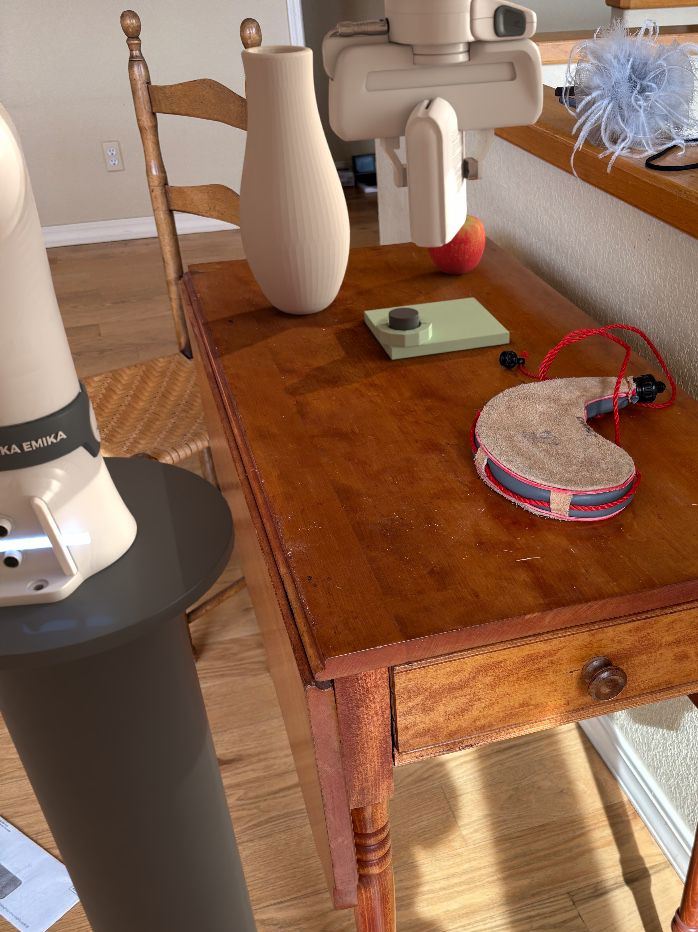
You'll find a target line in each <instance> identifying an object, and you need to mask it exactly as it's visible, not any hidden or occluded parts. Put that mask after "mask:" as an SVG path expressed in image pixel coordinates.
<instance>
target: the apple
mask: <svg viewBox="0 0 698 932" xmlns="http://www.w3.org/2000/svg"><path fill="white" fill-rule="evenodd" d="M485 232H486V231H485V226H484V224H483V222H482V221H481V220H480V219H479V218H477V217H476V216H474V215H469V214H466V220H465V222H464V224H463V226H462V227H461V228H460V229H459V231H458V232H457V233H456V235H455V236H454V237H453V238H452V240H451V241H450V242H448V243H447V244H443V245H442V246H440V247H427V251H428V254H429V256H430V259H431V260H432V262H433V264H434V265H435V267H436V268H437V269H438V270H439V271H441V272H443V273H444V274H447V275H454V276H455V275H457V276H459V275H464V274H466V273H469V272H471V271H472V270H474V269H475V268H476V267H477V265H478V264H479V263H480V261H481V259H482V257H483V253H484V251H485V247H486V233H485Z"/></svg>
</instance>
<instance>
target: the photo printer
mask: <svg viewBox="0 0 698 932" xmlns="http://www.w3.org/2000/svg"><path fill="white" fill-rule="evenodd" d="M465 132H466V131H458V125H457V117H456V114H455V111H454V110H453V108H452V107H451V105H450V104H449V103H448V102H447V101H445V100H444V99H441V98H438V97H437V98H434V99H433V101H432V102H431V104H430V103H429V101H428V100H423V101H422V102H420V103H419V104H418V105H417V106H416V107H415V108H414V109H413V111H412V113H411V114H410V116H409V119H408V121H407V125H406V129H405V136H404V147H405V164H406V168H407V186H408V187H407V201H408V202H407V203H408V219H409V233H410V240H411V244H415V245H416V246H417V247H421V248H428V247H440V246H442V245H443V244H447V243H448V242H450V241H451V240H452V238H453V237H454V236H455V235H456V233H457V232H458V231H459V229H460V228H461V227H462V226H463V224H464V222H465V220H466V215H467V179H465V178H464V168H465V167H464V158H466V133H465Z"/></svg>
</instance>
